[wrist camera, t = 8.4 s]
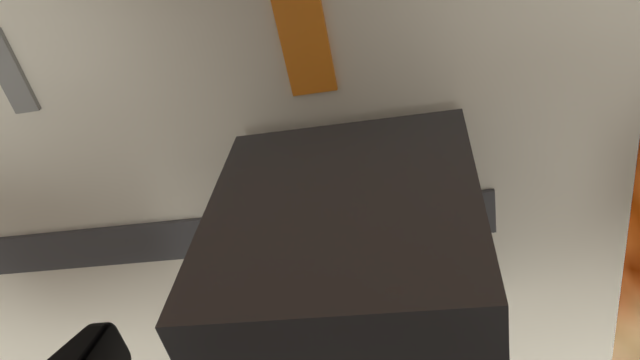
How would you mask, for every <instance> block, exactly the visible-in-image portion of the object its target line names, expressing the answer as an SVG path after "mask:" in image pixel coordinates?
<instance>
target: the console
mask: <svg viewBox="0 0 640 360" xmlns="http://www.w3.org/2000/svg"><path fill="white" fill-rule="evenodd" d="M455 109H462V110H463V114H464V119H465V123H466V127H467V131H468V136H469V140H470V144H471V148H472V153H473V157H474V161H475V165H476V170H477V174H478V178H479V182H480V187H481V191H482V195H483V199H484V203H485V208H486V212H487V216H488V220H489V225H490V229H491V233H492V237H493V242H494V246H495V250H496V254H497V259H498V263H499V267H500V271H501V276H502V280H503V284H504V288H505V293H506V297H507V301H508V305H509V355H510V360H612V355H613V347H614V339H615V331H616V323H617V315H618V307H619V299H620V291H621V283H622V275H623V267H624V259H625V251H626V243H627V235H628V227H629V219H630V211H631V203H632V195H633V187H634V179H635V171H636V163H637V155H638V147H639V139H640V0H0V360H47V359H48V358H49V357H51V356H52V355H53V354H54V353H55V352H56V351H58V350H59V349H60V348H61V347H62V346H63V345H65V344H66V343H67V342H68V341H69V340H70V339H72V338H73V337H74V336H75V335H76V334H77V333H79V332H80V331H81V330H82V329H83V328H84V327H86V326H87V325H89V324H92V323H102V322H111V323H113V324H114V325H115V326H116V327H117V329H118V330H119V332H120V334H121V336H122V338H123V340H124V341H125V343H126V345H127V347H128V349H129V351H130V354H131V360H170V358H169V356H168V354H167V352H166V349H165V347H164V345H163V343H162V341H161V339H160V337H159V335H158V333H157V331H156V329H155V326H156V324H157V321H158V319H159V317H160V314H161V312H162V310H163V307H164V305H165V302H166V300H167V298H168V295H169V293H170V291H171V288H172V286H173V284H174V281H175V279H176V277H177V274H178V272H179V270H180V267H181V265H182V263H183V260H184V258H185V256H186V253H187V251H188V249H189V246H190V244H191V241H192V239H193V237H194V234H195V232H196V230H197V227H198V225H199V223H200V220H201V218H202V216H203V213H204V211H205V209H206V206H207V204H208V202H209V199H210V197H211V195H212V192H213V190H214V187H215V185H216V183H217V180H218V178H219V176H220V173H221V171H222V169H223V166H224V164H225V162H226V159H227V157H228V155H229V152H230V150H231V148H232V145H233V143H234V141H235V138H236V137H237V136H245V135H253V134H261V133H269V132H277V131H285V130H293V129H301V128H309V127H318V126H326V125H334V124H342V123H350V122H358V121H366V120H374V119H382V118H390V117H398V116H406V115H414V114H422V113H430V112H438V111H447V110H455Z"/></svg>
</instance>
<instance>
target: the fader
mask: <svg viewBox="0 0 640 360" xmlns="http://www.w3.org/2000/svg"><path fill="white" fill-rule="evenodd" d="M155 329H156V331H157V333H158V335H159V337H160V339H161V341H162V343H163V345H164V347H165V349H166V352H167V354H168V356H169V358H170V360H510V355H509V305H508V301H507V297H506V293H505V288H504V284H503V280H502V276H501V271H500V267H499V263H498V259H497V254H496V250H495V246H494V242H493V237H492V233H491V229H490V225H489V220H488V216H487V212H486V208H485V203H484V199H483V195H482V191H481V187H480V182H479V178H478V174H477V170H476V165H475V161H474V157H473V153H472V148H471V144H470V140H469V136H468V131H467V127H466V123H465V119H464V114H463V110H462V109H455V110H447V111H438V112H430V113H422V114H414V115H406V116H398V117H390V118H382V119H374V120H366V121H358V122H350V123H342V124H334V125H326V126H318V127H309V128H301V129H293V130H285V131H277V132H269V133H261V134H253V135H245V136H237V137H236V138H235V141H234V143H233V145H232V148H231V150H230V152H229V155H228V157H227V159H226V162H225V164H224V166H223V169H222V171H221V173H220V176H219V178H218V180H217V183H216V185H215V187H214V190H213V192H212V195H211V197H210V199H209V202H208V204H207V206H206V209H205V211H204V213H203V216H202V218H201V220H200V223H199V225H198V227H197V230H196V232H195V234H194V237H193V239H192V241H191V244H190V246H189V249H188V251H187V253H186V256H185V258H184V260H183V263H182V265H181V267H180V270H179V272H178V274H177V277H176V279H175V281H174V284H173V286H172V288H171V291H170V293H169V295H168V298H167V300H166V302H165V305H164V307H163V310H162V312H161V314H160V317H159V319H158V321H157V324H156V326H155Z"/></svg>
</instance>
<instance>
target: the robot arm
mask: <svg viewBox="0 0 640 360" xmlns="http://www.w3.org/2000/svg"><path fill="white" fill-rule="evenodd" d="M47 360H131V354H130V351H129V349H128V347H127V345H126V343H125V341H124V340H123V338H122V336H121V334H120V332H119V330H118V329H117V327H116V326H115V325H114V324H113V323H111V322H102V323H92V324H89V325H87V326H86V327H84V328H83V329H82V330H81V331H80V332H79V333H77V334H76V335H75V336H74V337H73V338H72V339H70V340H69V341H68V342H67V343H66V344H65V345H63V346H62V347H61V348H60V349H59V350H58V351H56V352H55V353H54V354H53V355H52V356H51V357H49V358H48V359H47Z"/></svg>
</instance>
